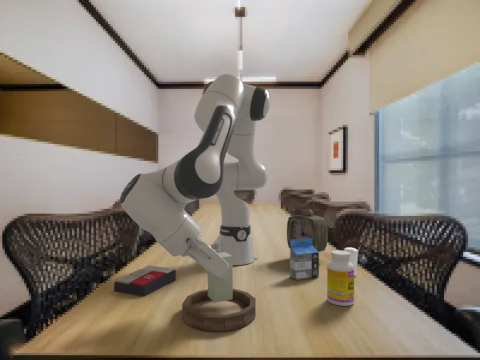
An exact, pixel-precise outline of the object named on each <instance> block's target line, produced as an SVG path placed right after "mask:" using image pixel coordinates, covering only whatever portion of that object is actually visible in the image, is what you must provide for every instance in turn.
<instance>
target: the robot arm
mask: <svg viewBox="0 0 480 360" xmlns="http://www.w3.org/2000/svg"><path fill="white" fill-rule="evenodd" d="M270 107H271V98H270V93H269V92H268V90H267V89H265V88H264V87H261V86H255V85H251V84H248V83H243V82H242V81H241V80H240V79H239V78H238V77H237V76H235V75H233V74H229V73H225V74H223V73H222V74H220V75H219V76H217V77H216V78H215V79H214V80H212V81H209V82H208V83H207V84H206V85H205V86H204V88H203V92H202V96H201V98H200V99H199V101H198V103H197V106H196V108H195V112H194V116H193V117H194V121H195V123H196V125H197V126H198V128H199V129H200V130H201V131H202V132H203V133H202V135H201V138H200V140H199V142H198V144H197V146H196V147H195V148H194V149H192V150H191V151H189V152H187V153H185V155H183V156H182V157H181V158H180V159H178V160H177V161H175V162H174V163H171V164H169V165H168V166H166V167H164V168H161V169H159V170H155V171H152V172H148V173H138V174H137V175H135V176H134V177H133V178H132V179H131V180H130V181H129V182H128V183H127V184H126V186H125V187H124V189H123V190H122V192H121V195H120V197H119V203H120V206H121V207H122V210H124V211H125V212H126V213H127V214H128V216H129V217H130V218H131V220H133V222H135V223H136V225H138V226H139V227H140V228H141V229H142V230H144V231H146V232H148V233H150V234H151V235H152V237H154V239H155V241H156V242H157V243H158V244H159V245H160V246H161V247H162V248H163V249H165V250H166V252H168V253H169V254H170V255H171V256H172V257H179V256H181V257H183V258H185V257H190V258H191V259H192V260H194V261H195V262H196V263H197V264H199V265H200V266H201V268H204V270H206V271H207V272H208V271H209V272H210V273H211V274H212V275H214V276H215V277H216V278H222V279H223V280H225V281H227V280H228V279H229V278H230V274H229V273H228V272H227V269H228V268H229V264H228V263H227V262H226V261H225V260H224V259H223V258H222V257H221V256H220V255H219V254H218V253H221V252H226V253H228V254H230V255H232V256H233V266H243V265H249V264H252V263H253V262H254V260H256V259H258V258H257V257H258V256H257V255H256V254H255V250H254V249H255V247H254V239H253V237H251V234H252V233H251V232H252V231H251V230H252V227H251V224H250V207H249V204H248V203H247V201H245V200H243V199H241V198H239V197H237V196H236V194H235V191H253V190H259V189H262V188H264V187H265V185H266V184H267V181H268V178H269V177H268V175H269V174H268V172H267V171H268V170H267V169H266V167H265V166H264V165H263V164H262V163H261V162H260V161H258V159H257V156H256V155H255V150H254V149H255V148H254V147H255V135H256V128H257V121H261V120H263V119H264V118H266V116H267V114H268V113H269V110H270ZM227 154H228V155H229V156H231V157H233V158H234V159H236V160H238V161H237V162H230V161H229V162H225V158H226V155H227ZM213 196H216V198H217V199H218V202H219V207H220V211H221V212H220V213H221V215H220V216H221V225H220V226H219V227H220V228H219V235H218V236H217V238H215V240H214V241H213V243H211V244H210V245H211V246H210V245H209V244H208V243H206V242H205V241H203V235H202V234H201V233H202V226H201V225H200V224H199V223H198V222H197V221H196V220H195V219H194V218H193V217H192V216H191V215H190V214H189V213H188V212H187V211H186V210H185V208H186V206H187V205H188V204H190V203H191V202H194V201H199V200H203V199H208V198H211V197H213Z"/></svg>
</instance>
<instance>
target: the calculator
mask: <svg viewBox="0 0 480 360" xmlns="http://www.w3.org/2000/svg"><path fill="white" fill-rule="evenodd" d="M176 273H177V272H176V269H174V268H171V267H165V266H155V265H151V264H150V265H147V266H144V267H143V268H138V269H137V270H135V271H133V272H130V273H129V274H126V275H124V276H122V277H120V278H117V279H116V280H114V282H113V285H114V286H113V287H114V288H113V291H114V292H118V293H122V294H123V293H124V294H128V295H134V296H139V297H146V296H149V295H150V294H152V293H154V292H156V291H158V290H159V289H162V288H163V287H165V286H166V285H169V284H171V283H174V282H176V281H177V274H176Z"/></svg>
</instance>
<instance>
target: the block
mask: <svg viewBox="0 0 480 360" xmlns="http://www.w3.org/2000/svg"><path fill="white" fill-rule="evenodd" d="M218 254H219V255H220V256H221V257H222V258H223V259H224V260H225V261H226V262H227V263H228V264H229V268H228V269H227V272H228V273H229V274H230V278H229V279H228V280H227V281H225V280H223V279H222V278H216V277H215V276H214V275H212V274H211V273H210V272H209V271H207V289H208V297H209V298H210V299H211V300H212V301H213V302H214V303H215V302H221V301H226V300H231V299H233V289H234V288H233V282H234V279H233V278H234V277H233V273H234V272H233V271H234V270H233V266H234V265H233V256H232V255H230V254H228V253H226V252H221V253H218Z"/></svg>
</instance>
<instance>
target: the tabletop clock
mask: <svg viewBox="0 0 480 360" xmlns="http://www.w3.org/2000/svg"><path fill="white" fill-rule="evenodd" d="M304 200H309V201H311V202H312V205H311V206H309V204H306V205H303V204H302V202H303V201H304ZM300 206H301V207H302V208H304V209H302V210H301V212H300V215H291V216H289V217H288V219H287V223H286V241H287V246H288V248H289V249H290V240H293V239H306V238H312V245H313V247H314V248H315V249H316V250H317V251H318V252H319V253H320V252H324V251H326V248H327V244H328V235H329V234H328V232H329V231H328V223H327V220H326V219H325V218H324V217H322V216H319V215H314V211H313V210H312V208H314V206H315V201H314V199H313V198H311V197H303V198H301V200H300ZM298 244H305V242H302V241H301V242H300V243H298Z"/></svg>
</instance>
